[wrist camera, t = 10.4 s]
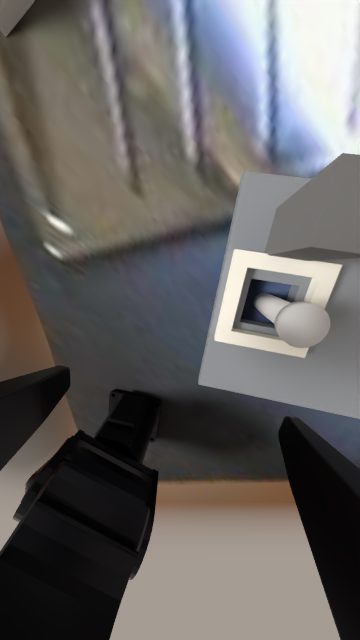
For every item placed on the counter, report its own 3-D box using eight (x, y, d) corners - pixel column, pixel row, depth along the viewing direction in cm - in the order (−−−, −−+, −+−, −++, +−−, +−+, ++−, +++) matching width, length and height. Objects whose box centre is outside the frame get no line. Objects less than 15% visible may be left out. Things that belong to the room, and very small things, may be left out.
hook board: (357, 409, 19) (449, 496, 12) (198, 376, 21) (195, 435, 13) (469, 207, 13) (775, 138, 6) (240, 180, 15) (273, 98, 8)
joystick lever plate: (299, 352, 17) (361, 409, 10) (214, 336, 17) (219, 379, 11) (351, 217, 13) (497, 168, 7) (244, 204, 14) (279, 147, 7)
